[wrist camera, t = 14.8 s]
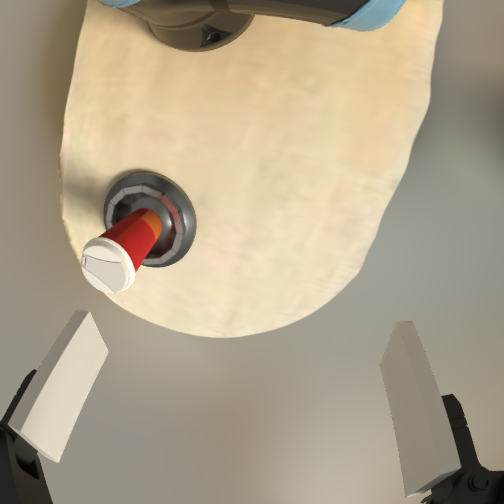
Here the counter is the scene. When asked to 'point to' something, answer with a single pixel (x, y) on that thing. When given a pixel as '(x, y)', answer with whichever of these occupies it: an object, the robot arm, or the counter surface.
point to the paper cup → (120, 251)
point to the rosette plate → (164, 205)
